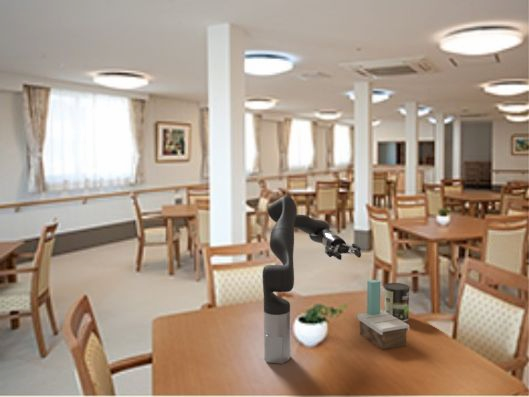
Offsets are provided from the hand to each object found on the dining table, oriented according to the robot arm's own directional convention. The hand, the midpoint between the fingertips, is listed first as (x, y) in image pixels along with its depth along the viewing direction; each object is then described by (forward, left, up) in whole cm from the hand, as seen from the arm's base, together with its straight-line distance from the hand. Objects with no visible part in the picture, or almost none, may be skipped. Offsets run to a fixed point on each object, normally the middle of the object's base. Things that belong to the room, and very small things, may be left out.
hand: (350, 256), depth 188 cm
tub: (-12, -13, -29) cm, 34 cm away
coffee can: (+13, -19, -29) cm, 37 cm away
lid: (-12, -13, -23) cm, 29 cm away
